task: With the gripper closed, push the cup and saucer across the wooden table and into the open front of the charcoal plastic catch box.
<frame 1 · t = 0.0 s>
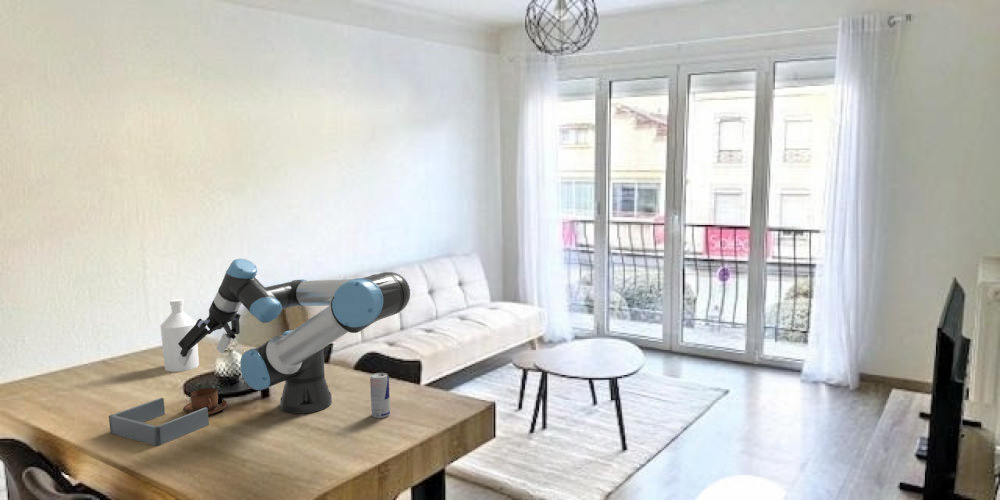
hand: (201, 356, 204), 15 cm above the table, fingers open, 13 cm apart
bottle: (182, 367, 245), on the table
cup and saucer: (205, 412, 200), on the table
energy drink: (380, 415, 195), on the table
catch box: (160, 428, 187), on the table
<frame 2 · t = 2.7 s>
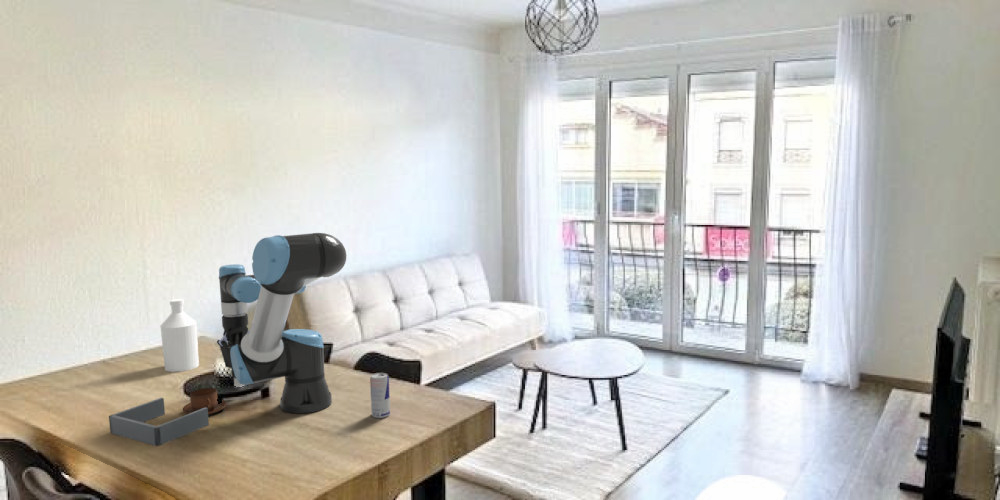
hand: (239, 386, 211), 3 cm above the table, fingers closed
nothing on the table moved.
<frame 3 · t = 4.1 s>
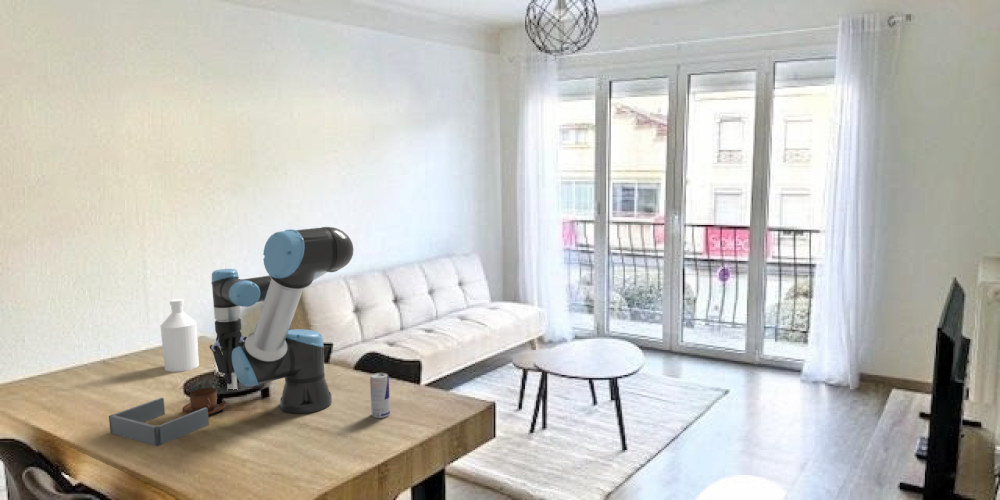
hand: (232, 392, 209), 2 cm above the table, fingers closed
nothing on the table moved.
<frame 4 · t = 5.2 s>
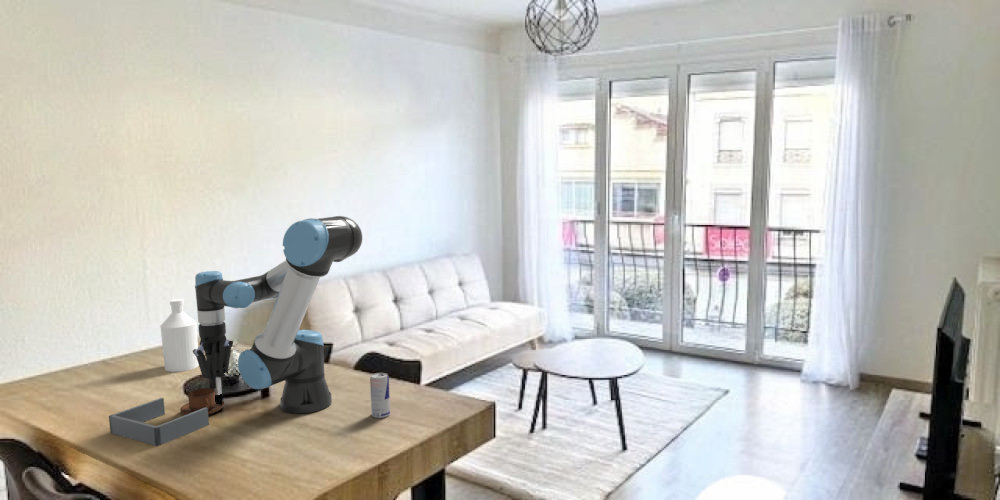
hand: (217, 397, 204), 3 cm above the table, fingers closed
cup and saucer: (203, 412, 200), on the table, touching gripper
everything else where it was.
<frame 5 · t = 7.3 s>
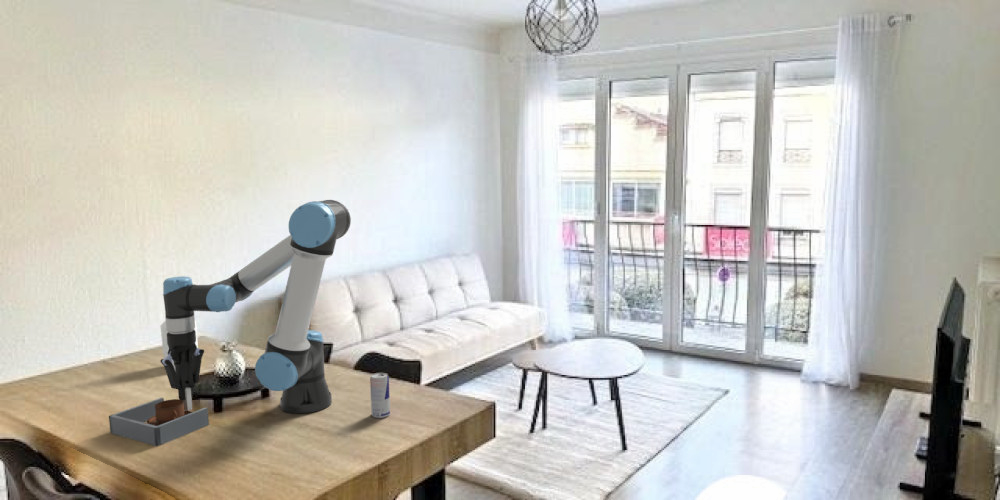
hand: (186, 409, 195), 3 cm above the table, fingers closed
cup and saucer: (171, 425, 190), on the table
everything else where it was.
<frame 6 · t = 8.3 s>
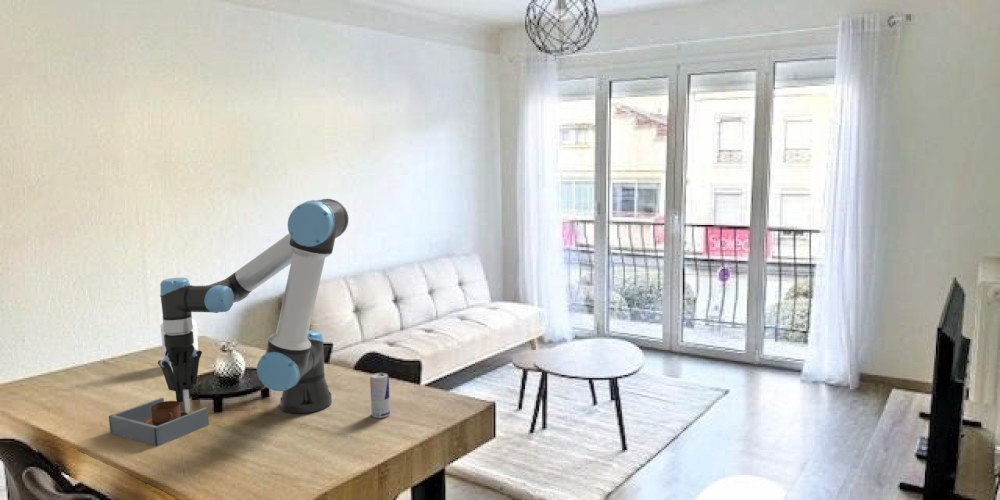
hand: (184, 411, 194), 2 cm above the table, fingers closed
cup and saucer: (167, 426, 190), on the table
everything else where it was.
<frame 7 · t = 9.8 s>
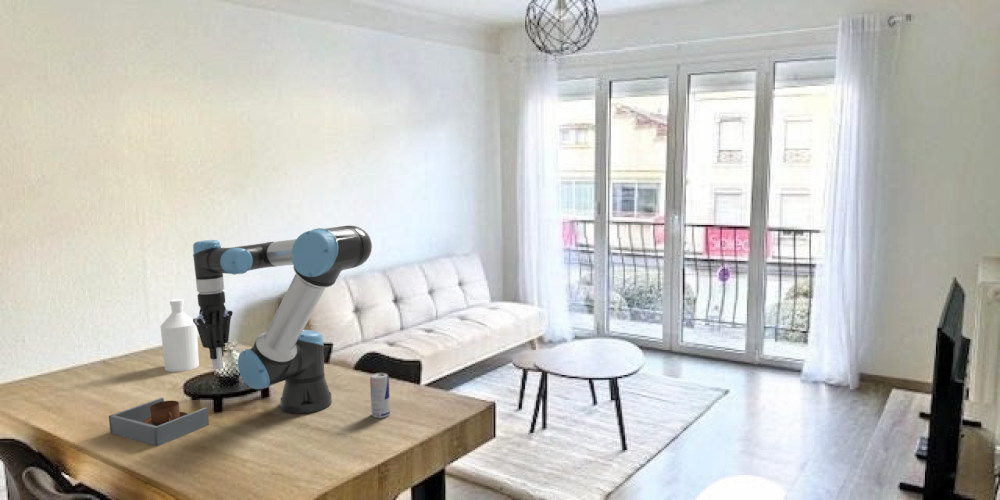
hand: (218, 368, 202), 12 cm above the table, fingers closed
nothing on the table moved.
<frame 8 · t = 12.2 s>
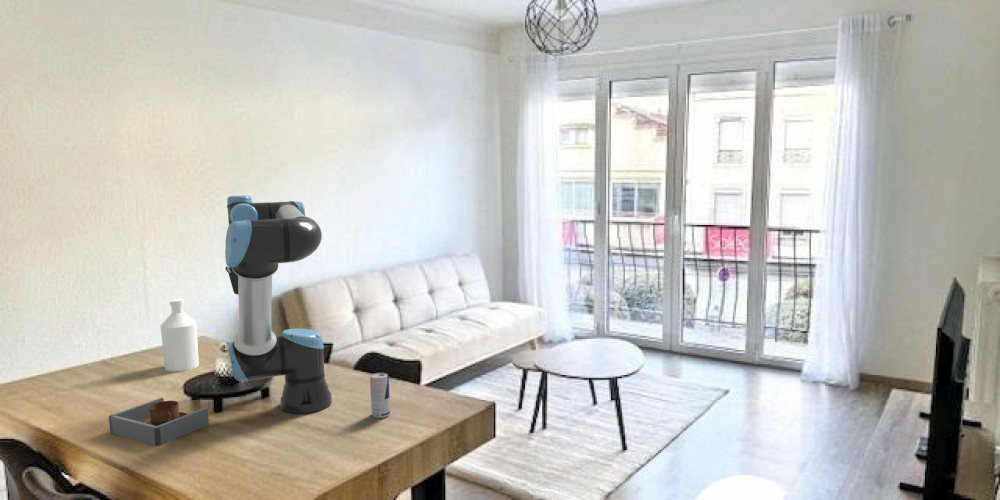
hand: (246, 314, 220), 24 cm above the table, fingers closed
nothing on the table moved.
at the end: cup and saucer inside the target area on the catch box (5.0 cm from its centre), point 0.0 cm above the catch box's base; cup and saucer tilted 0°; cup and saucer moved 12.6 cm from its start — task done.
